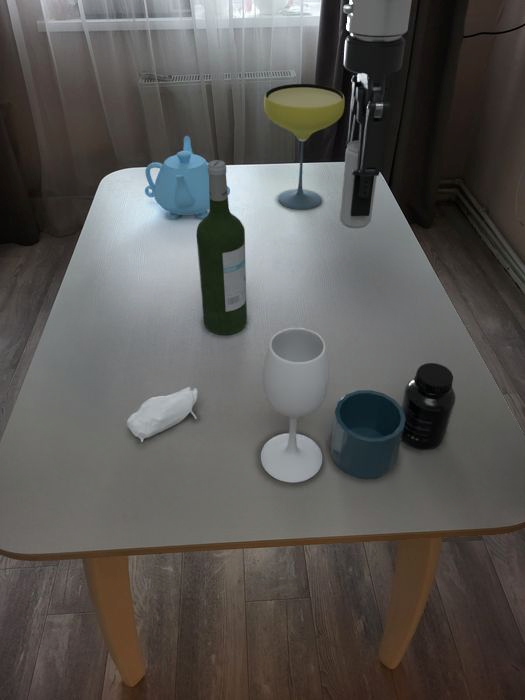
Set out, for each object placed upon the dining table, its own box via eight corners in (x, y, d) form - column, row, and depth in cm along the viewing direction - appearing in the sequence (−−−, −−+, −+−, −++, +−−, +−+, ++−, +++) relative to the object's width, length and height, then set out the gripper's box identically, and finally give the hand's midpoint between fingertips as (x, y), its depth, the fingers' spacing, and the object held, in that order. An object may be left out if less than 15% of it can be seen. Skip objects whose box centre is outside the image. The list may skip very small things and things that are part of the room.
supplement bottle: (407, 409, 86) (422, 350, 78) (450, 428, 83) (469, 369, 75) (388, 437, 81) (401, 378, 74) (432, 459, 78) (451, 399, 71)
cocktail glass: (282, 222, 131) (285, 112, 115) (252, 191, 144) (251, 89, 127) (349, 208, 137) (360, 101, 120) (314, 179, 149) (320, 79, 133)
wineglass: (329, 478, 76) (343, 365, 62) (266, 487, 75) (267, 373, 61) (314, 430, 82) (324, 318, 69) (256, 438, 81) (255, 325, 68)
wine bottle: (217, 305, 106) (207, 149, 87) (254, 316, 104) (252, 158, 84) (196, 328, 101) (179, 168, 81) (234, 340, 98) (227, 178, 79)
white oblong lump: (178, 405, 88) (120, 423, 82) (188, 376, 84) (127, 392, 78) (194, 428, 86) (135, 448, 80) (204, 399, 81) (143, 418, 75)
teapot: (183, 234, 127) (177, 175, 118) (138, 204, 138) (129, 148, 129) (238, 212, 135) (237, 155, 126) (191, 186, 146) (187, 132, 137)
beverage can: (376, 224, 86) (387, 147, 79) (353, 232, 84) (362, 154, 77) (356, 212, 89) (364, 137, 82) (333, 220, 87) (339, 144, 80)
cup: (408, 450, 80) (418, 412, 74) (371, 490, 74) (380, 453, 69) (355, 418, 84) (361, 380, 79) (317, 454, 79) (321, 416, 74)
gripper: (336, 21, 77) (324, 182, 92) (358, 52, 63) (340, 235, 78) (390, 20, 77) (370, 181, 92) (423, 51, 63) (393, 234, 78)
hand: (356, 206), depth 85 cm, fingers closed on beverage can, 5 cm apart
